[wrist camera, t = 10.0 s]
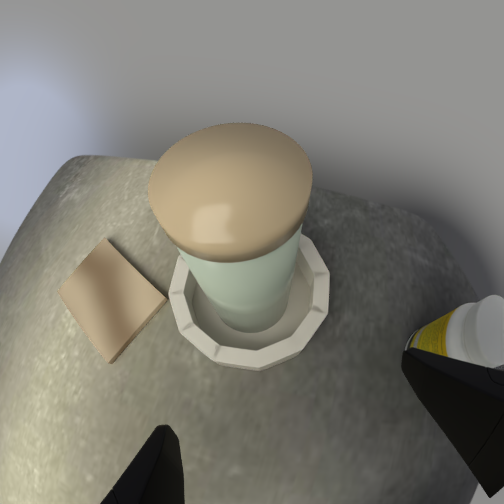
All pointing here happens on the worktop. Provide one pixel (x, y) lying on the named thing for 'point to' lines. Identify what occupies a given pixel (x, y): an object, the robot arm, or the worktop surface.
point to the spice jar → (236, 216)
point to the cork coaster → (110, 300)
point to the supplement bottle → (466, 333)
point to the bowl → (262, 343)
